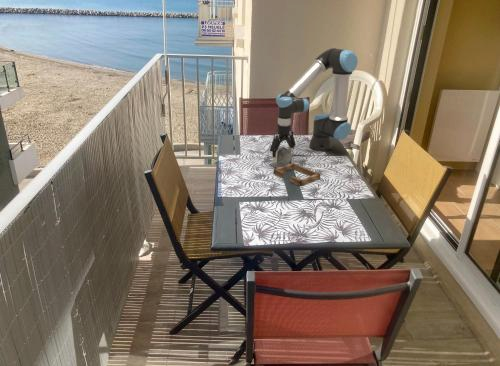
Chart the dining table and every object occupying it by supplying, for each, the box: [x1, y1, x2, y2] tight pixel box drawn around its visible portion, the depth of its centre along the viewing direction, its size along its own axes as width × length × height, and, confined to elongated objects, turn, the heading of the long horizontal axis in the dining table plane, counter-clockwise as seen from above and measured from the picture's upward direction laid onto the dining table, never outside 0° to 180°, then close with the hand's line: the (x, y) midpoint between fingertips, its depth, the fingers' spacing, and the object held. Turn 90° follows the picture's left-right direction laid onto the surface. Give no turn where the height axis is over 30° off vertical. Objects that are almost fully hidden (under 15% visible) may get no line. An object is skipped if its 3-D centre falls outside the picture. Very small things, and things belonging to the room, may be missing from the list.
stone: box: [276, 146, 293, 164], centre depth 246 cm, size 10×10×10 cm
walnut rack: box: [272, 162, 322, 187], centre depth 233 cm, size 16×21×3 cm
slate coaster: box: [268, 162, 291, 169], centre depth 248 cm, size 11×11×1 cm
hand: (282, 160), depth 247 cm, fingers closed on stone, 11 cm apart
